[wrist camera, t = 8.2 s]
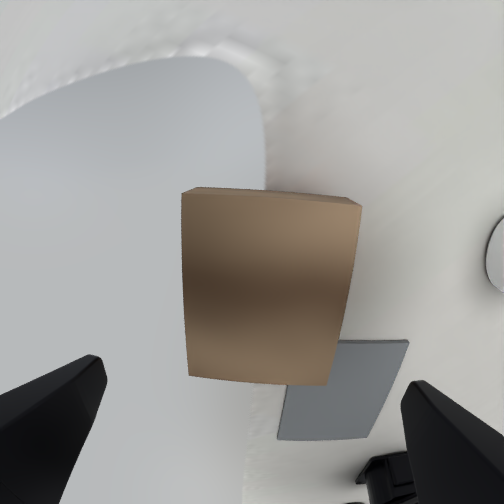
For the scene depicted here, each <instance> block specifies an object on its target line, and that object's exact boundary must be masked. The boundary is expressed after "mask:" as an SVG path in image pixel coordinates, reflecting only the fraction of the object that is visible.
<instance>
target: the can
mask: <svg viewBox="0 0 504 504" xmlns="http://www.w3.org/2000/svg"><path fill="white" fill-rule="evenodd" d="M486 269H487V274H488V277H489V279H490V281H491V283H492V284H493V285H494V286H495V287H496V288H498V289H499V290H500V291H502V292H503V293H504V218H503V219H502V220H501V221H500V222H499V224H498V225H497V226H496V228H495V229H494V231H493V233H492V235H491V237H490V240H489V243H488V247H487V252H486Z"/></svg>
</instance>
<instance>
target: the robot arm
mask: <svg viewBox="0 0 504 504" xmlns="http://www.w3.org/2000/svg"><path fill="white" fill-rule="evenodd" d="M106 385H107V375H106V372H105V368H104V365H103V362H102V359H101V358H100V357H98V356H94V355H86V356H84V357H82V358H79V359H78V360H75V361H73V362H71V363H69V364H67V365H65V366H63V367H60V368H58V369H56V370H54V371H52V372H50V373H48V374H45V375H43V376H41V377H39V378H37V379H34V380H32V381H30V382H28V383H26V384H24V385H21V386H19V387H17V388H15V389H13V390H10V391H8V392H6V393H4V394H2V395H0V504H59V502H60V499H61V497H62V494H63V491H64V489H65V487H66V484H67V482H68V480H69V477H70V475H71V472H72V470H73V468H74V465H75V463H76V461H77V458H78V456H79V454H80V451H81V449H82V447H83V445H84V443H85V440H86V438H87V436H88V434H89V431H90V430H91V427H92V425H93V423H94V420H95V417H96V414H97V411H98V408H99V405H100V402H101V400H102V397H103V394H104V391H105V388H106ZM401 413H402V420H403V426H404V433H405V441H406V447H407V452H406V453H400V454H394V455H388V456H381V457H375V458H372V459H371V460H370V461H369V462H368V464H367V465H366V467H365V468H364V470H363V471H362V473H361V474H360V475H359V477H358V478H357V480H356V481H355V482H356V484H365V483H366V485H367V490H368V495H369V500H370V504H504V437H503V435H502V434H500V433H499V432H497V431H496V430H495V429H493V428H492V427H490V426H489V425H487V424H486V423H485V422H483V421H482V420H480V419H479V418H477V417H476V416H474V415H473V414H472V413H470V412H469V411H467V410H466V409H464V408H463V407H462V406H460V405H459V404H457V403H456V402H454V401H453V400H452V399H450V398H449V397H447V396H446V395H444V394H443V393H442V392H440V391H439V390H437V389H436V388H434V387H433V386H432V385H430V384H429V383H427V382H426V381H424V380H418V381H412V382H411V383H410V384H409V386H408V388H407V390H406V392H405V394H404V396H403V398H402V400H401Z"/></svg>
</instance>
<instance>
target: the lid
mask: <svg viewBox="0 0 504 504" xmlns="http://www.w3.org/2000/svg"><path fill="white" fill-rule="evenodd" d="M181 203H182V206H181V207H182V209H181V218H182V219H181V228H182V229H181V231H182V233H181V234H182V278H183V298H184V299H183V300H184V319H185V334H186V348H187V360H188V372H189V376H195V377H203V378H210V379H219V380H228V381H237V382H249V383H262V384H278V385H304V386H326V385H327V382H328V378H329V374H330V371H331V367H332V363H333V359H334V355H335V351H336V347H337V343H338V339H339V335H340V331H341V326H342V322H343V317H344V313H345V308H346V303H347V298H348V293H349V288H350V282H351V277H352V271H353V266H354V260H355V254H356V247H357V241H358V234H359V227H360V219H361V211H362V206H361V205H359V204H358V203H356V202H354V201H352V200H350V199H348V198H346V197H337V196H327V195H316V194H305V193H294V192H281V191H267V190H250V189H231V188H209V187H208V188H206V187H196V188H194V189H191V190H189V191H186V192H184V193H182V200H181Z"/></svg>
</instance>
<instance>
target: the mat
mask: <svg viewBox="0 0 504 504" xmlns="http://www.w3.org/2000/svg"><path fill="white" fill-rule="evenodd" d="M408 345H409V341H408V340H390V341H341V340H338V343H337V347H336V351H335V355H334V359H333V363H332V367H331V371H330V374H329V378H328V382H327V385H326V386H304V385H288V386H287V391H286V396H285V401H284V407H283V412H282V417H281V422H280V426H279V431H278V436H277V440H293V441H317V440H343V439H357V438H367V436H368V435H369V433H370V431H371V429H372V427H373V425H374V423H375V421H376V419H377V417H378V415H379V413H380V411H381V409H382V407H383V405H384V403H385V401H386V399H387V396H388V394H389V392H390V390H391V387H392V385H393V383H394V381H395V378H396V376H397V373H398V371H399V369H400V366H401V364H402V361H403V359H404V356H405V353H406V351H407V348H408Z"/></svg>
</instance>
